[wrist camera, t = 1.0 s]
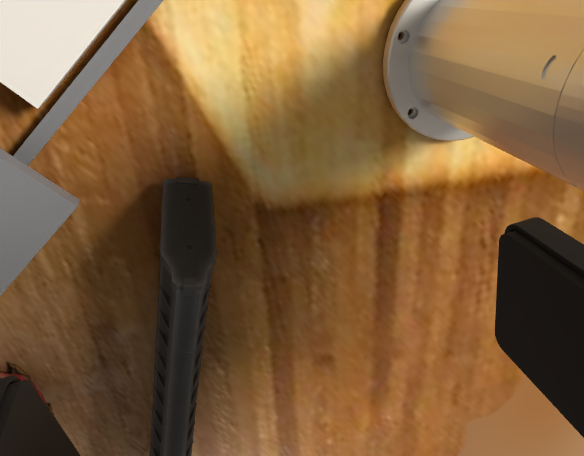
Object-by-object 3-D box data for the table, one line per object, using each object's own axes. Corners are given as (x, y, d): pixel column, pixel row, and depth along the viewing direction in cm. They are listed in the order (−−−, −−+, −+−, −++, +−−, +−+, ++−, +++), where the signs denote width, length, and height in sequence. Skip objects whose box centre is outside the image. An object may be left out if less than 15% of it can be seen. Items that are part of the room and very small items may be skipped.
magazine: (163, 186, 25) (139, 671, 29) (226, 191, 26) (193, 660, 30) (163, 169, 41) (147, 480, 46) (201, 172, 42) (182, 476, 47)
